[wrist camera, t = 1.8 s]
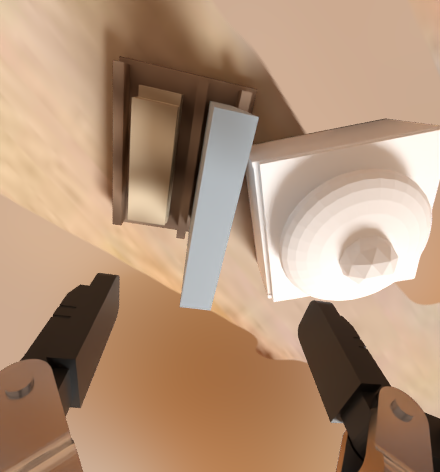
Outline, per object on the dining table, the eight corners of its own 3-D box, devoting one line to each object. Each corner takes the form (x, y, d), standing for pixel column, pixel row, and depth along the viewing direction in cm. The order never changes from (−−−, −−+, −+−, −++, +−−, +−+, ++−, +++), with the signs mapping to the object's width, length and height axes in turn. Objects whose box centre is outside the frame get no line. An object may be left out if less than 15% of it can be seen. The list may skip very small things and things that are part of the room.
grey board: (209, 100, 27) (214, 106, 13) (231, 105, 27) (259, 117, 13) (190, 218, 33) (179, 306, 20) (208, 221, 34) (210, 310, 20)
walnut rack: (123, 58, 26) (109, 51, 22) (254, 89, 28) (262, 89, 24) (120, 215, 34) (109, 231, 31) (221, 231, 36) (223, 248, 32)
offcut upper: (138, 96, 24) (131, 96, 22) (180, 106, 25) (177, 107, 23) (133, 210, 30) (127, 219, 28) (167, 216, 30) (164, 225, 28)
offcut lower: (144, 85, 26) (138, 84, 24) (183, 94, 27) (181, 94, 24) (137, 209, 33) (133, 218, 30) (169, 214, 33) (166, 223, 31)
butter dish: (241, 146, 31) (269, 188, 17) (390, 117, 30) (546, 136, 16) (256, 262, 40) (283, 352, 26) (373, 241, 39) (466, 324, 25)
